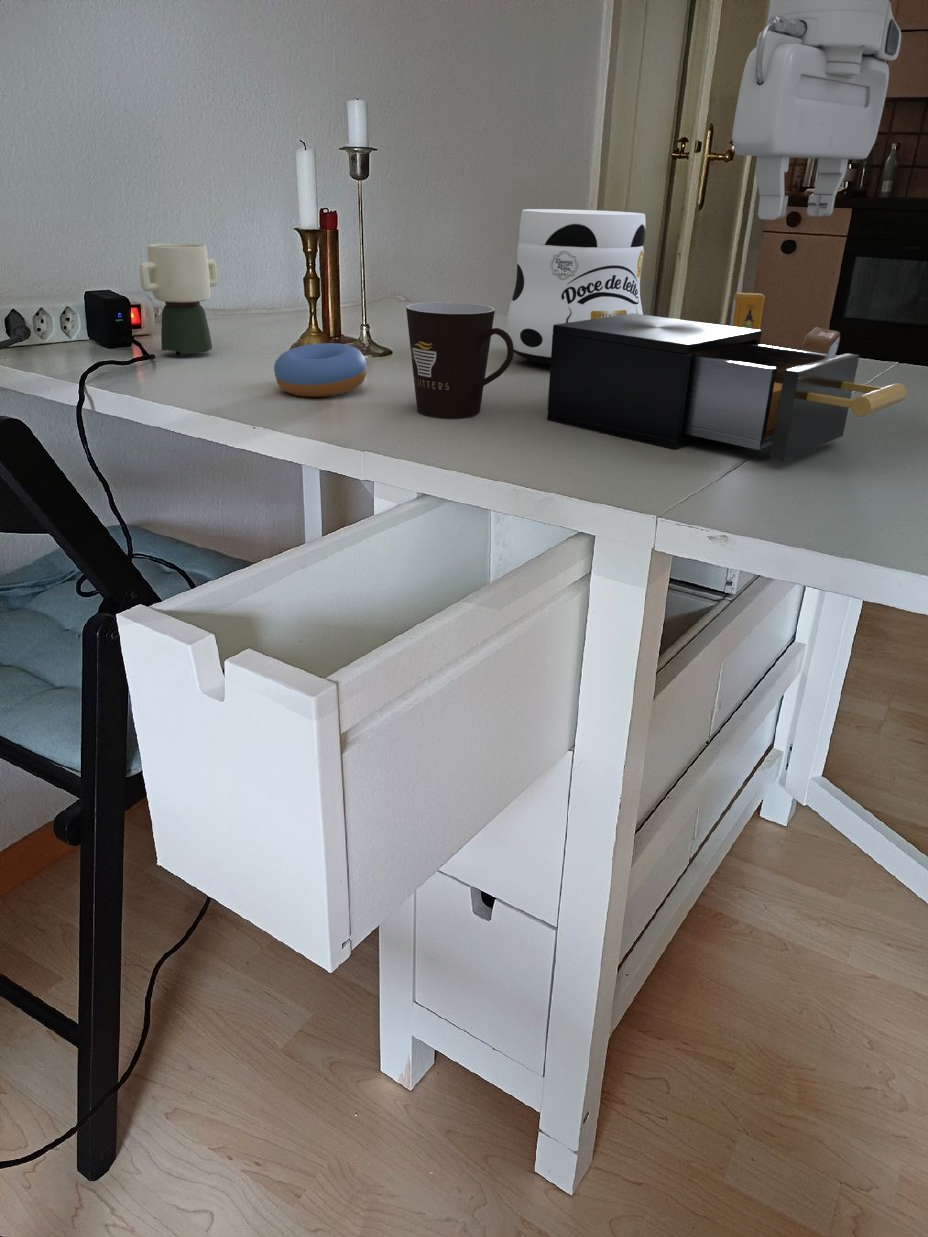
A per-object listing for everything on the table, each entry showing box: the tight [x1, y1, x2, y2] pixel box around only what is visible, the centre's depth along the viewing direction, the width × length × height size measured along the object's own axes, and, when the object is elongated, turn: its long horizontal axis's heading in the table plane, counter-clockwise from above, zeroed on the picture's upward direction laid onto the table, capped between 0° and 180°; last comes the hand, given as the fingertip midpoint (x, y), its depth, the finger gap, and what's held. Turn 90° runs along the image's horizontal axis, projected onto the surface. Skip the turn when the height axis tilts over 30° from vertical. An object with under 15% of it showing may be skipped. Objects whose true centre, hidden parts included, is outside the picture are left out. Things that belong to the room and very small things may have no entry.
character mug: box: [138, 242, 219, 357], centre depth 116 cm, size 11×7×13 cm, turn 140°
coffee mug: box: [405, 301, 515, 419], centre depth 91 cm, size 12×9×10 cm
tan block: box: [766, 383, 782, 431], centre depth 83 cm, size 4×4×4 cm
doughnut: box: [273, 342, 368, 398], centre depth 100 cm, size 10×10×5 cm
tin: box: [799, 326, 841, 358], centre depth 95 cm, size 15×3×8 cm, turn 154°
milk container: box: [506, 208, 646, 366], centre depth 117 cm, size 17×17×18 cm
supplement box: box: [729, 292, 766, 330], centre depth 111 cm, size 3×3×10 cm
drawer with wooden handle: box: [682, 342, 908, 462], centre depth 82 cm, size 19×12×7 cm, turn 47°
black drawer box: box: [546, 313, 763, 450], centre depth 90 cm, size 15×14×9 cm
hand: (795, 217), depth 79 cm, fingers open, 8 cm apart
